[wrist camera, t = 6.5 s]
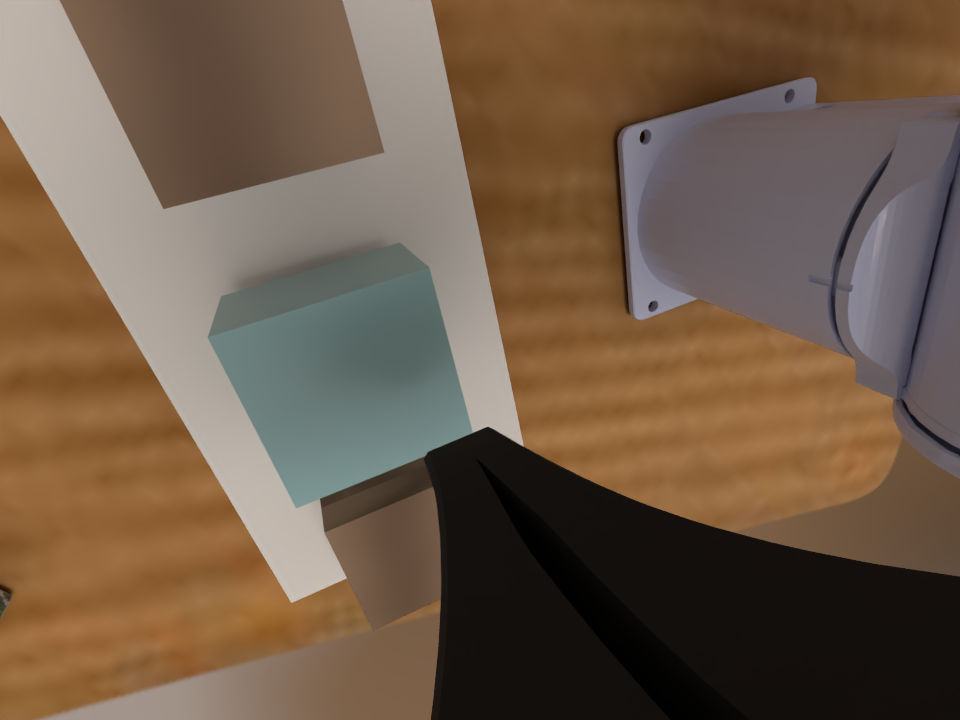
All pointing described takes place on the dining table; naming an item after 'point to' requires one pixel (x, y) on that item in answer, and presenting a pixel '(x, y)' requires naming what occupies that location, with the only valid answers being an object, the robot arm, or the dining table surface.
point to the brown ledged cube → (229, 89)
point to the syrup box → (4, 601)
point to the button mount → (260, 240)
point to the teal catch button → (343, 369)
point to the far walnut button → (387, 541)
